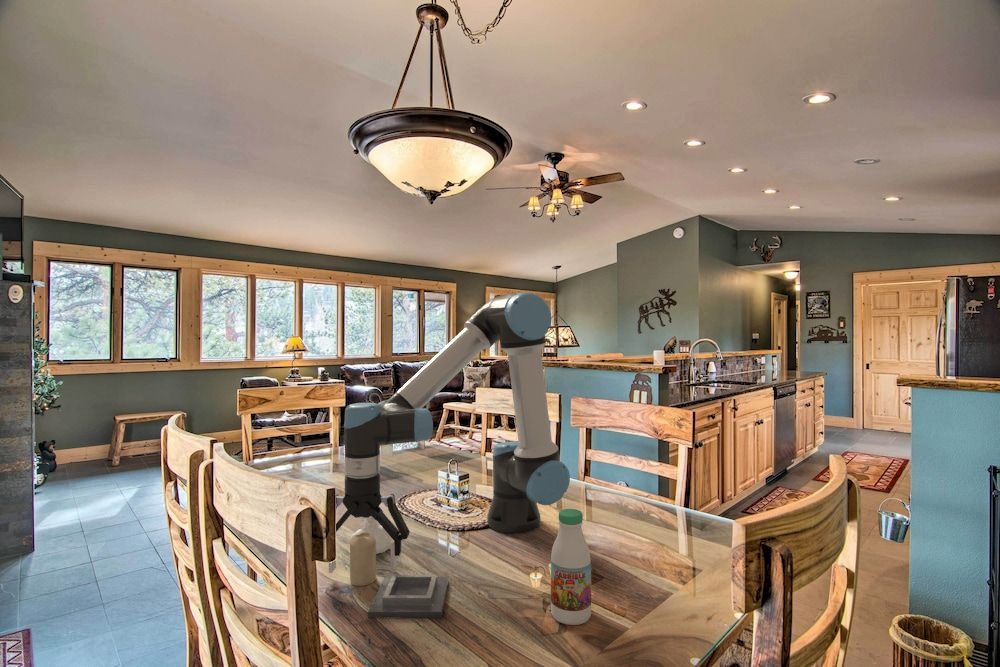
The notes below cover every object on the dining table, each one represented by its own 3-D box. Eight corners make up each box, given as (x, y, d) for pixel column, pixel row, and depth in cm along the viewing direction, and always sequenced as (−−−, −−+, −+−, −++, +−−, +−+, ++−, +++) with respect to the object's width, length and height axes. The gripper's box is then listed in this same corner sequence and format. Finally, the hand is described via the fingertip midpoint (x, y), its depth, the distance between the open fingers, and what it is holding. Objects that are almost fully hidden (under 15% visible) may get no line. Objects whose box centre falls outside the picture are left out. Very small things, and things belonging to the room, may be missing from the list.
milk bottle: (547, 605, 103) (547, 505, 103) (585, 603, 104) (585, 504, 104) (555, 627, 96) (554, 520, 95) (595, 625, 96) (595, 518, 96)
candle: (369, 587, 111) (368, 541, 111) (345, 585, 112) (345, 539, 112) (380, 575, 116) (379, 531, 116) (357, 573, 117) (357, 529, 117)
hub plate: (448, 582, 113) (448, 569, 113) (441, 618, 99) (440, 604, 99) (384, 582, 113) (384, 569, 113) (368, 618, 99) (367, 604, 99)
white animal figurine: (393, 553, 133) (382, 511, 138) (404, 542, 128) (392, 499, 133) (348, 566, 125) (338, 521, 131) (357, 555, 121) (346, 509, 126)
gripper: (299, 479, 110) (300, 578, 110) (416, 478, 110) (416, 577, 110) (312, 469, 118) (312, 562, 118) (421, 469, 117) (422, 562, 118)
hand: (363, 570), depth 114 cm, fingers open, 13 cm apart
